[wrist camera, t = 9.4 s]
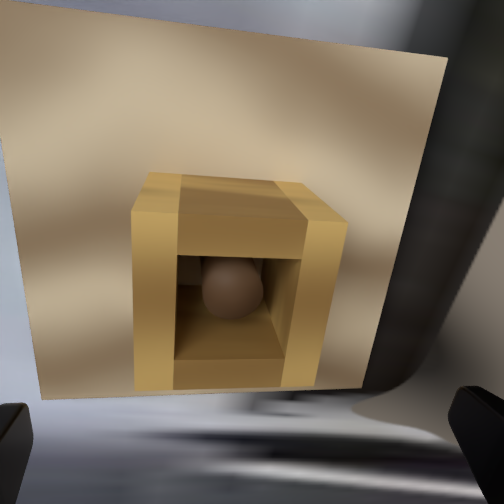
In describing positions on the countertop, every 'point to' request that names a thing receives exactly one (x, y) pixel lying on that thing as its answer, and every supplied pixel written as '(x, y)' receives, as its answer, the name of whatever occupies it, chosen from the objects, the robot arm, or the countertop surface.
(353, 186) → the post board
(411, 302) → the countertop surface
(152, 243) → the wooden crate frame
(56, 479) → the countertop surface
